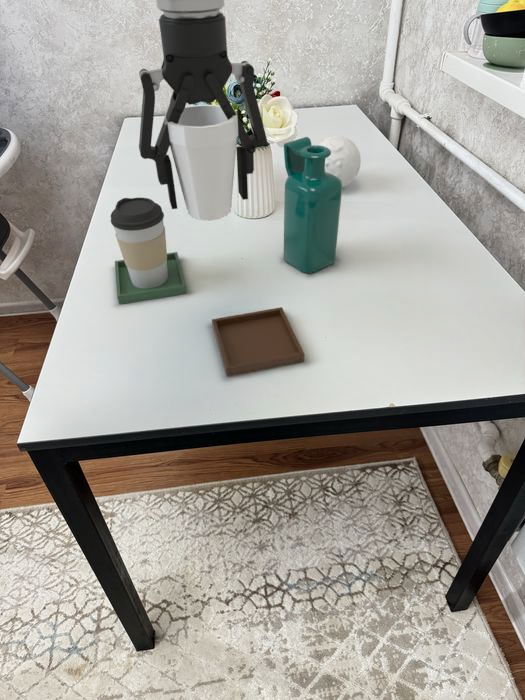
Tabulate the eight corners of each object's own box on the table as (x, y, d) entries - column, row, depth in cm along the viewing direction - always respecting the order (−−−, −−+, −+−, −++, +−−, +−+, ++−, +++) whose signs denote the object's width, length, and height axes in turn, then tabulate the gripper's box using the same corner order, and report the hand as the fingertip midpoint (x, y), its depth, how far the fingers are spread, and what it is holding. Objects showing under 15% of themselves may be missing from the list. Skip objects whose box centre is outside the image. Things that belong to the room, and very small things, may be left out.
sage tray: (119, 304, 88) (117, 296, 87) (116, 268, 96) (114, 260, 95) (186, 293, 90) (185, 285, 89) (178, 259, 99) (177, 251, 97)
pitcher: (339, 262, 97) (351, 149, 82) (307, 277, 93) (313, 161, 78) (306, 242, 103) (312, 133, 88) (275, 255, 99) (275, 144, 84)
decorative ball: (305, 194, 119) (308, 144, 111) (313, 175, 128) (316, 127, 120) (355, 199, 117) (361, 148, 109) (359, 178, 126) (365, 130, 117)
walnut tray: (227, 376, 74) (226, 368, 73) (212, 327, 83) (211, 319, 81) (303, 361, 76) (304, 353, 75) (281, 314, 85) (281, 307, 84)
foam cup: (246, 197, 74) (243, 105, 65) (236, 227, 67) (230, 129, 59) (185, 194, 75) (174, 103, 66) (169, 223, 68) (154, 126, 60)
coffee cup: (183, 273, 94) (172, 199, 84) (151, 297, 88) (135, 221, 78) (148, 260, 97) (133, 188, 87) (115, 282, 92) (95, 208, 82)
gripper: (276, 2, 60) (275, 180, 75) (89, 12, 56) (128, 198, 71) (295, 11, 55) (290, 201, 70) (91, 24, 50) (132, 222, 65)
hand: (208, 200), depth 70 cm, fingers closed on foam cup, 9 cm apart
